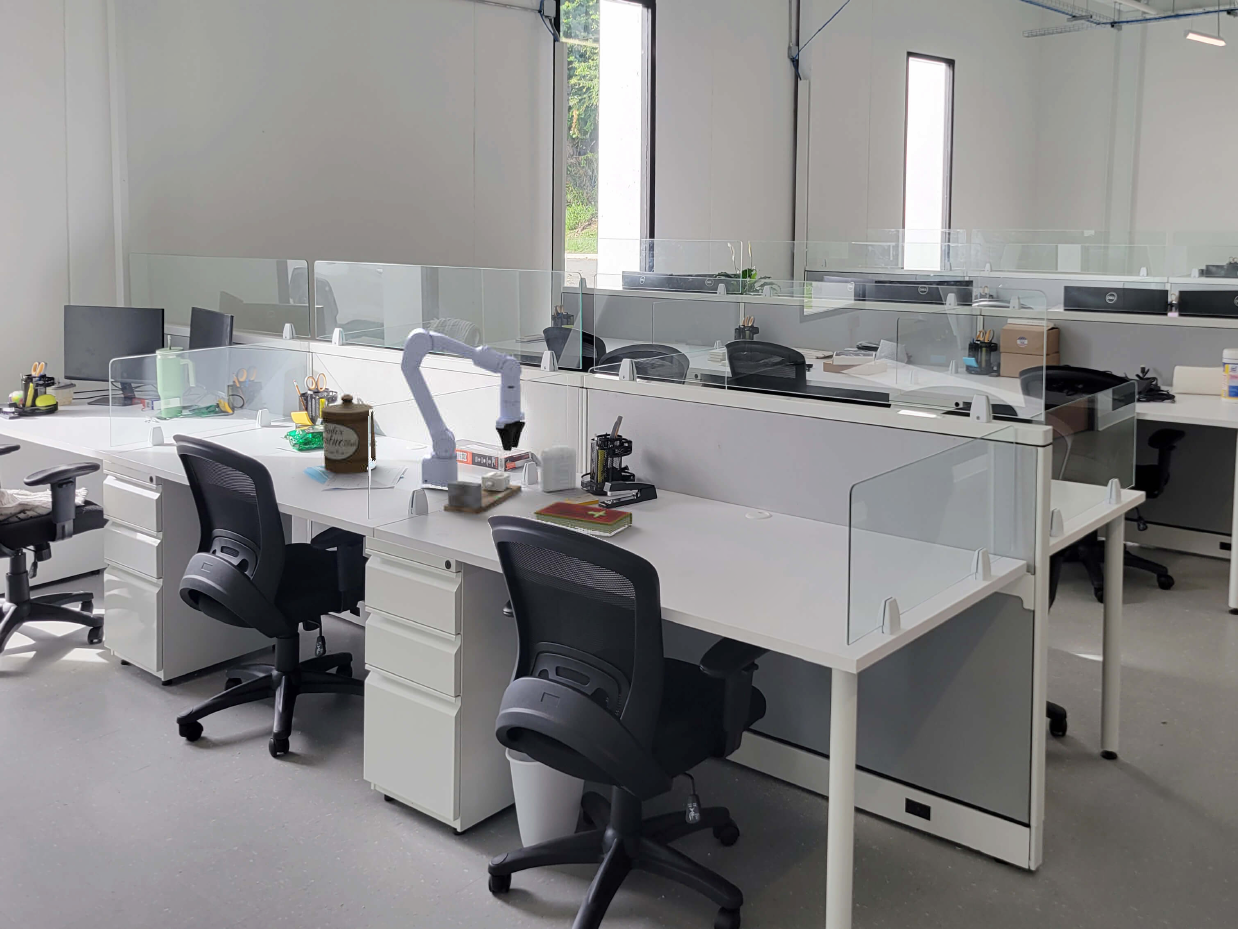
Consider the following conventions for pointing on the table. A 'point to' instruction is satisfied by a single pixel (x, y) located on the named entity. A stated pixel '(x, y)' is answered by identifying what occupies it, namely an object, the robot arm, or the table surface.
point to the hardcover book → (584, 517)
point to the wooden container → (347, 436)
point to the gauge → (496, 481)
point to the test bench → (484, 500)
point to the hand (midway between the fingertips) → (510, 448)
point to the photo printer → (558, 468)
